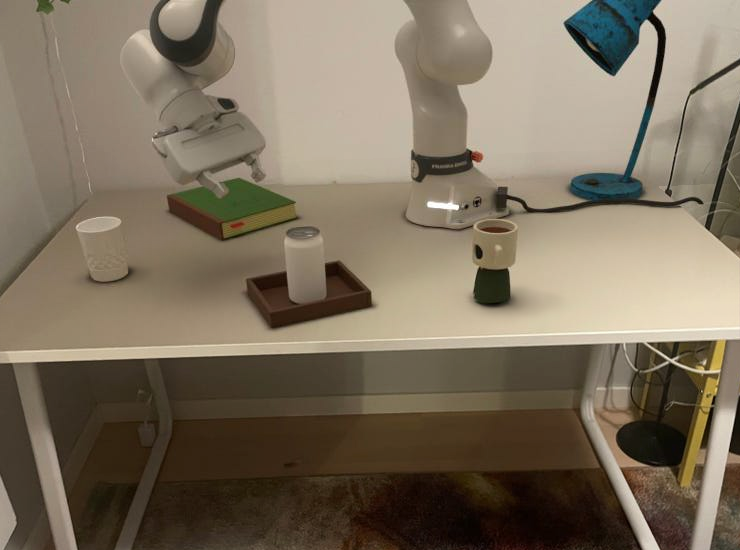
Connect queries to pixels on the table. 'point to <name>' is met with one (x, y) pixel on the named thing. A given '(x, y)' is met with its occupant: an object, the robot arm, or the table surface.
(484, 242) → the character mug
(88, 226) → the white cup
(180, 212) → the hardcover book
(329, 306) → the tray
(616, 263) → the table surface
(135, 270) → the table surface
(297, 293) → the can
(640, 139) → the desk lamp
